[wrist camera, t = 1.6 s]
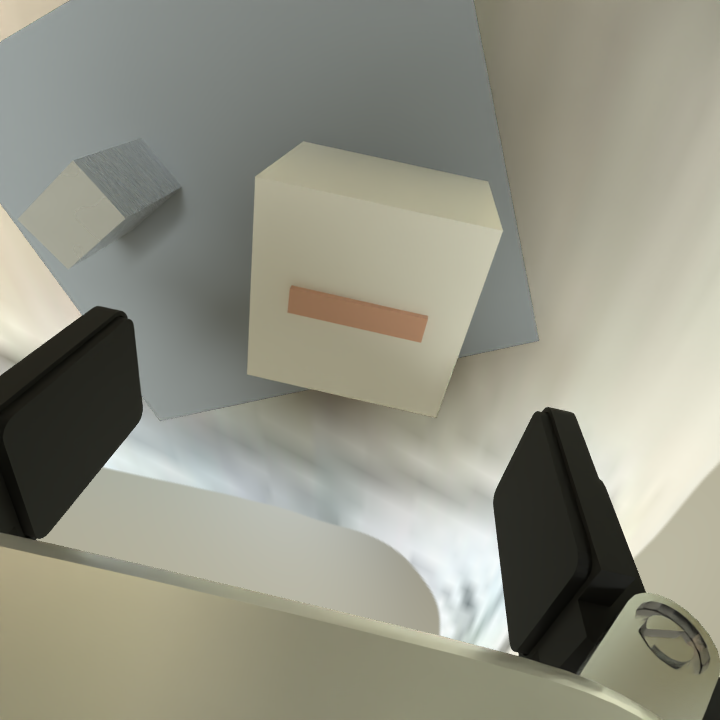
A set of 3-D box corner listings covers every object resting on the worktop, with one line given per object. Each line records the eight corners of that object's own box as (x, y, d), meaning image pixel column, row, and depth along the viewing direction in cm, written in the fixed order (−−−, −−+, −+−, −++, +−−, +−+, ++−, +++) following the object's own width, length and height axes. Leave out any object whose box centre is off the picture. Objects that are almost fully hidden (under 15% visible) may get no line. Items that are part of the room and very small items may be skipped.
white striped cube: (488, 181, 16) (503, 233, 12) (438, 338, 20) (436, 422, 15) (303, 141, 16) (252, 178, 12) (288, 304, 20) (244, 378, 16)
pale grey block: (141, 137, 17) (72, 160, 14) (181, 186, 18) (125, 218, 15) (90, 188, 18) (17, 219, 15) (129, 231, 19) (68, 269, 16)
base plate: (433, -191, 12) (432, -216, 11) (533, 322, 20) (539, 340, 19) (-47, 87, 18) (-83, 90, 17) (173, 402, 26) (160, 420, 25)
